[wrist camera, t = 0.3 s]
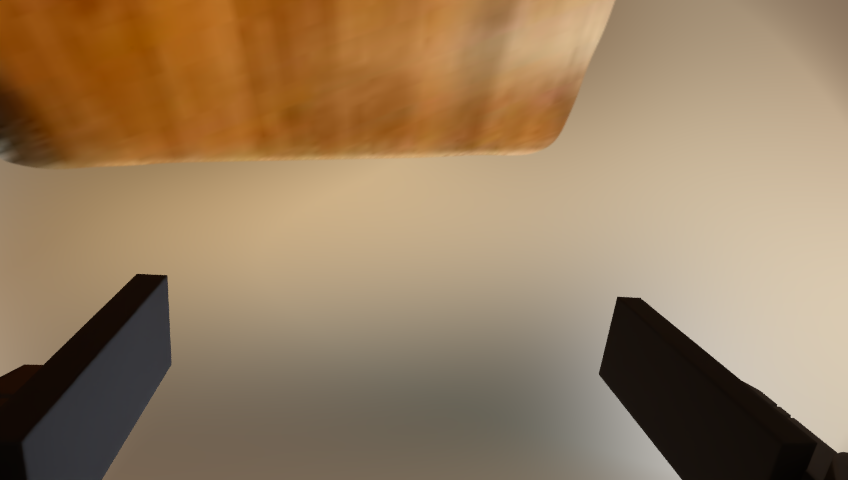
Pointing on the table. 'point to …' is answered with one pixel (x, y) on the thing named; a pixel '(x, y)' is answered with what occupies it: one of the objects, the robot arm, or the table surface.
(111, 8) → the table surface
